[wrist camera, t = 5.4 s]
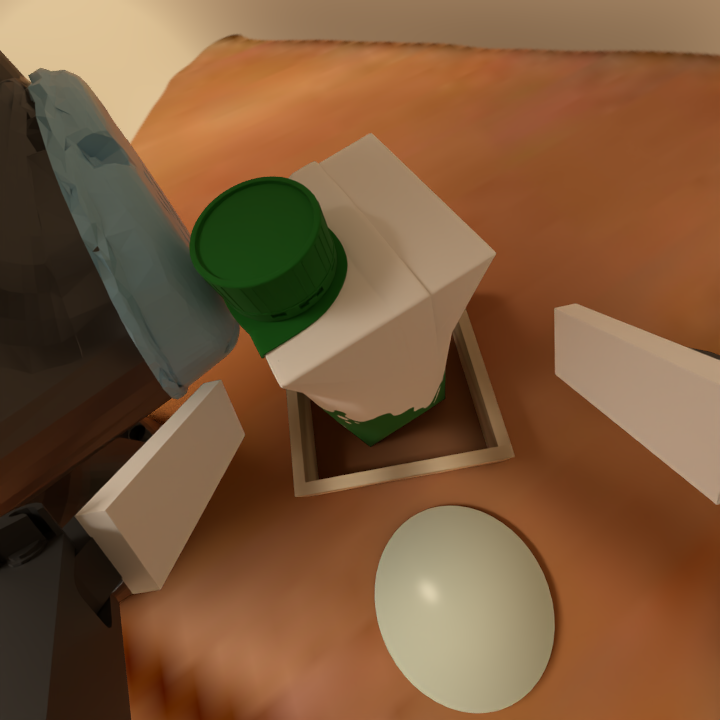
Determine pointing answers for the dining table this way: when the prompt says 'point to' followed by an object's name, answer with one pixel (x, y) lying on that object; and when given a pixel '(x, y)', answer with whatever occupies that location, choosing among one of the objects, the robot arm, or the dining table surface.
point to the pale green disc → (464, 609)
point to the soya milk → (345, 282)
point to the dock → (495, 452)
